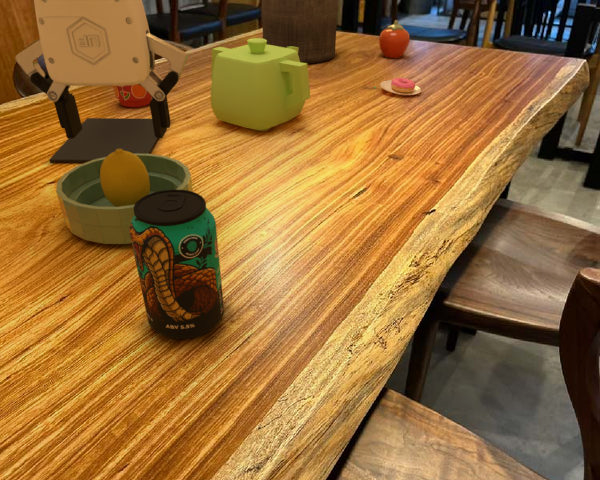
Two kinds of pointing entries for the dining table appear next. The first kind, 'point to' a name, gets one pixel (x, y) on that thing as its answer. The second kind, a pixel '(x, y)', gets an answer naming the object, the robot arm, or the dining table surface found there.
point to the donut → (400, 86)
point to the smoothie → (132, 95)
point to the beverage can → (177, 263)
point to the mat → (107, 139)
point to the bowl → (95, 206)
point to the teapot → (258, 84)
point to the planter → (302, 27)
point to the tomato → (394, 41)
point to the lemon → (124, 178)
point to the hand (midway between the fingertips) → (118, 134)
